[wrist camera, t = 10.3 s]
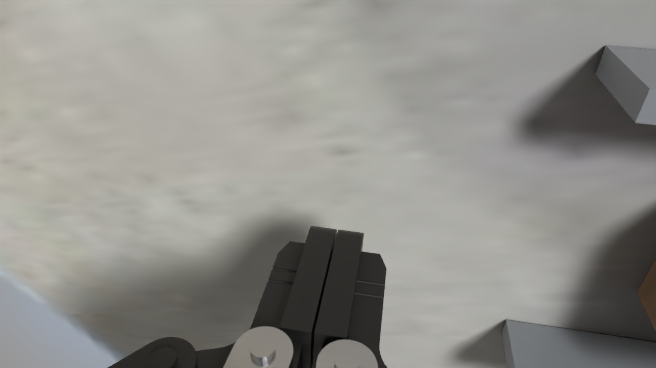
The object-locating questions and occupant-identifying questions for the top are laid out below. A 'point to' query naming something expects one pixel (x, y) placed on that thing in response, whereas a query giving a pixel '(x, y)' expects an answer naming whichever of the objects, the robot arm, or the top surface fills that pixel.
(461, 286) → the top surface
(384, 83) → the top surface
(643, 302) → the tile block
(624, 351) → the bin
